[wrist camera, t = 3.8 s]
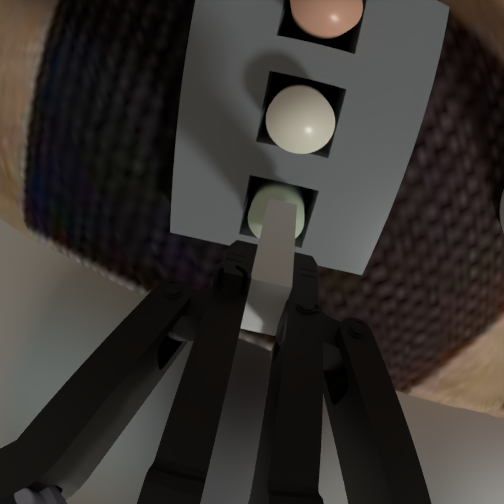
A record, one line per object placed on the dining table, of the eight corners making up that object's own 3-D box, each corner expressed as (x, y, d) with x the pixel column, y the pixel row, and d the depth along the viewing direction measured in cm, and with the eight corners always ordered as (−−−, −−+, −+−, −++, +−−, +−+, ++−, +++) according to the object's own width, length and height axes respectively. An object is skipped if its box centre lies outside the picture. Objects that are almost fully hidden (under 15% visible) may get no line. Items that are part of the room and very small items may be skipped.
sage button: (259, 171, 19) (253, 188, 17) (309, 183, 19) (310, 202, 17) (250, 215, 21) (243, 237, 19) (297, 226, 21) (296, 249, 19)
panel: (218, -40, 12) (207, -53, 10) (432, 11, 12) (449, 6, 10) (182, 214, 22) (170, 232, 20) (357, 253, 22) (361, 274, 20)
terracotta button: (297, -20, 11) (296, -34, 9) (357, -5, 11) (368, -16, 9) (286, 31, 13) (284, 25, 11) (346, 46, 13) (355, 42, 11)
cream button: (276, 78, 15) (272, 81, 13) (335, 92, 15) (342, 98, 13) (265, 133, 17) (260, 145, 14) (321, 146, 17) (325, 161, 14)
